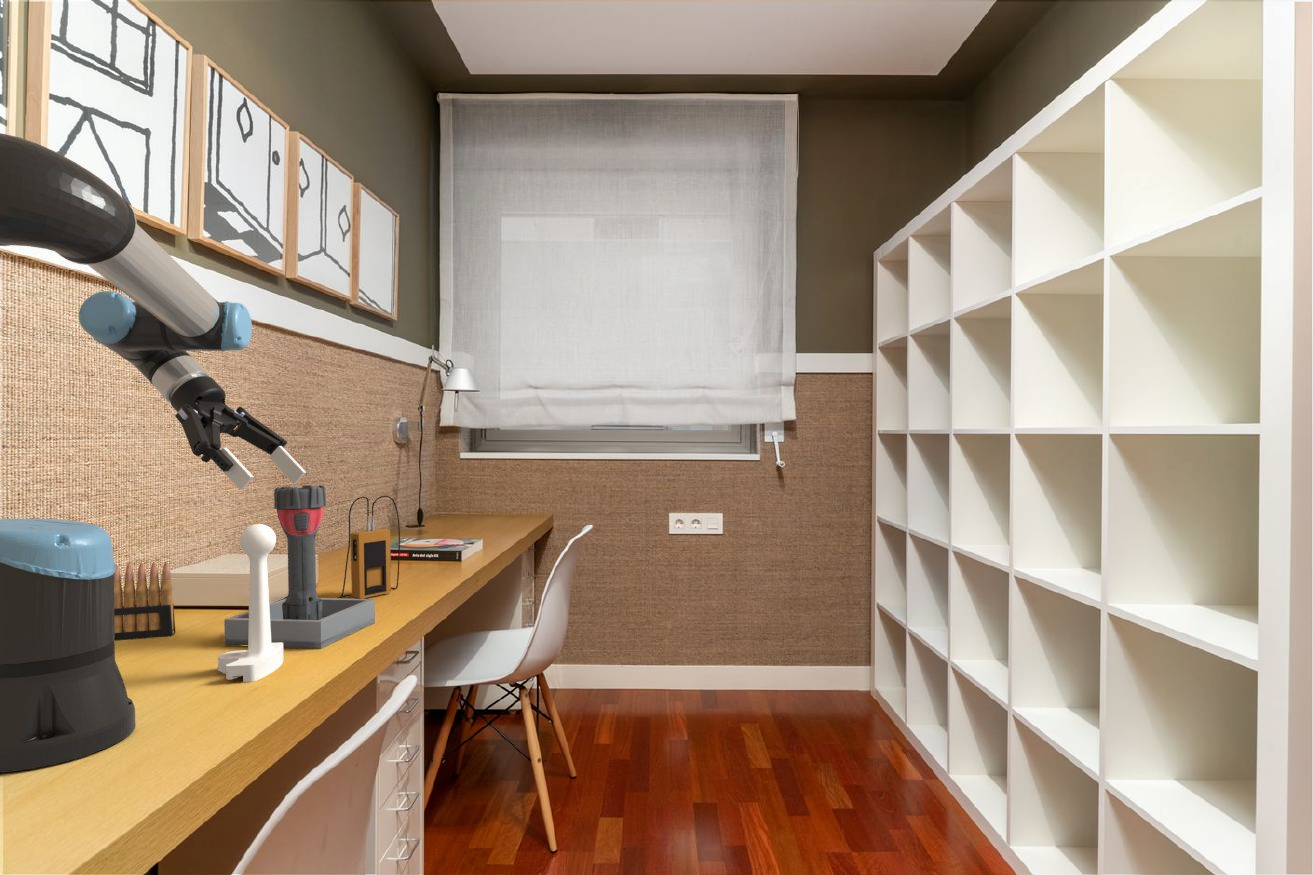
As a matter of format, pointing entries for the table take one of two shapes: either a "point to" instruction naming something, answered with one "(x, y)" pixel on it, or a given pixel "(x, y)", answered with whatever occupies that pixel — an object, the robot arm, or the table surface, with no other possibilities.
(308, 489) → the flashlight
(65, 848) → the table surface
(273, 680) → the table surface
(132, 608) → the ammunition clip
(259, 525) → the joystick
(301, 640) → the tray
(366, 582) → the multimeter
